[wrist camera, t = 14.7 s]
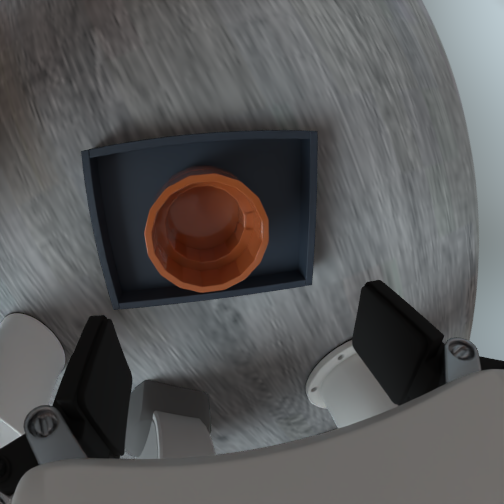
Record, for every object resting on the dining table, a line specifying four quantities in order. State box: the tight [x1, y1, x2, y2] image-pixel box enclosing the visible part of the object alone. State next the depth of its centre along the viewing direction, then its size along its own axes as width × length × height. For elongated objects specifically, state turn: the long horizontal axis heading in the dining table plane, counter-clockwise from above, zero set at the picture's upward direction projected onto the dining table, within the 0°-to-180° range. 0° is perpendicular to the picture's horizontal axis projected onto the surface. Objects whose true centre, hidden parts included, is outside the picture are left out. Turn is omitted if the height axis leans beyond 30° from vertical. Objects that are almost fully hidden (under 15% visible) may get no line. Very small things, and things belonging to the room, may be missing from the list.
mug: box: [0, 313, 65, 448], centre depth 17 cm, size 12×9×12 cm
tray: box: [81, 130, 318, 310], centre depth 21 cm, size 16×12×2 cm
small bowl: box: [144, 165, 269, 293], centre depth 19 cm, size 7×7×5 cm
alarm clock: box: [125, 380, 216, 459], centre depth 22 cm, size 16×10×18 cm, turn 154°
